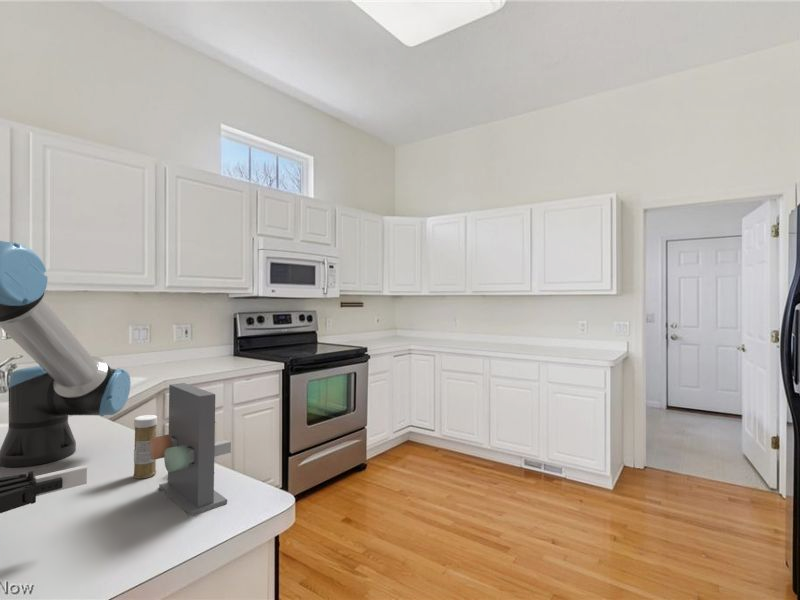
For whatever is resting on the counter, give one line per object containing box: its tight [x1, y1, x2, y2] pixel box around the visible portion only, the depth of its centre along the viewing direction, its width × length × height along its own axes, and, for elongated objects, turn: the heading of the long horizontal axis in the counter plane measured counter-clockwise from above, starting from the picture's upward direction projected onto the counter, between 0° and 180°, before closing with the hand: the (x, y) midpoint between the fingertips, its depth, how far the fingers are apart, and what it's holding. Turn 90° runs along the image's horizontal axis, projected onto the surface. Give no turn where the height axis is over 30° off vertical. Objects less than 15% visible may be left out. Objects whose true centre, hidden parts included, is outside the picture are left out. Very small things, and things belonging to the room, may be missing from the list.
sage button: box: [163, 439, 232, 473], centre depth 85 cm, size 4×12×4 cm, turn 137°
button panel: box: [158, 382, 228, 516], centre depth 89 cm, size 17×7×22 cm, turn 47°
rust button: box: [149, 434, 177, 460], centre depth 92 cm, size 4×12×4 cm, turn 137°
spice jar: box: [133, 414, 158, 479], centre depth 98 cm, size 5×5×14 cm
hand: (85, 474), depth 72 cm, fingers closed
